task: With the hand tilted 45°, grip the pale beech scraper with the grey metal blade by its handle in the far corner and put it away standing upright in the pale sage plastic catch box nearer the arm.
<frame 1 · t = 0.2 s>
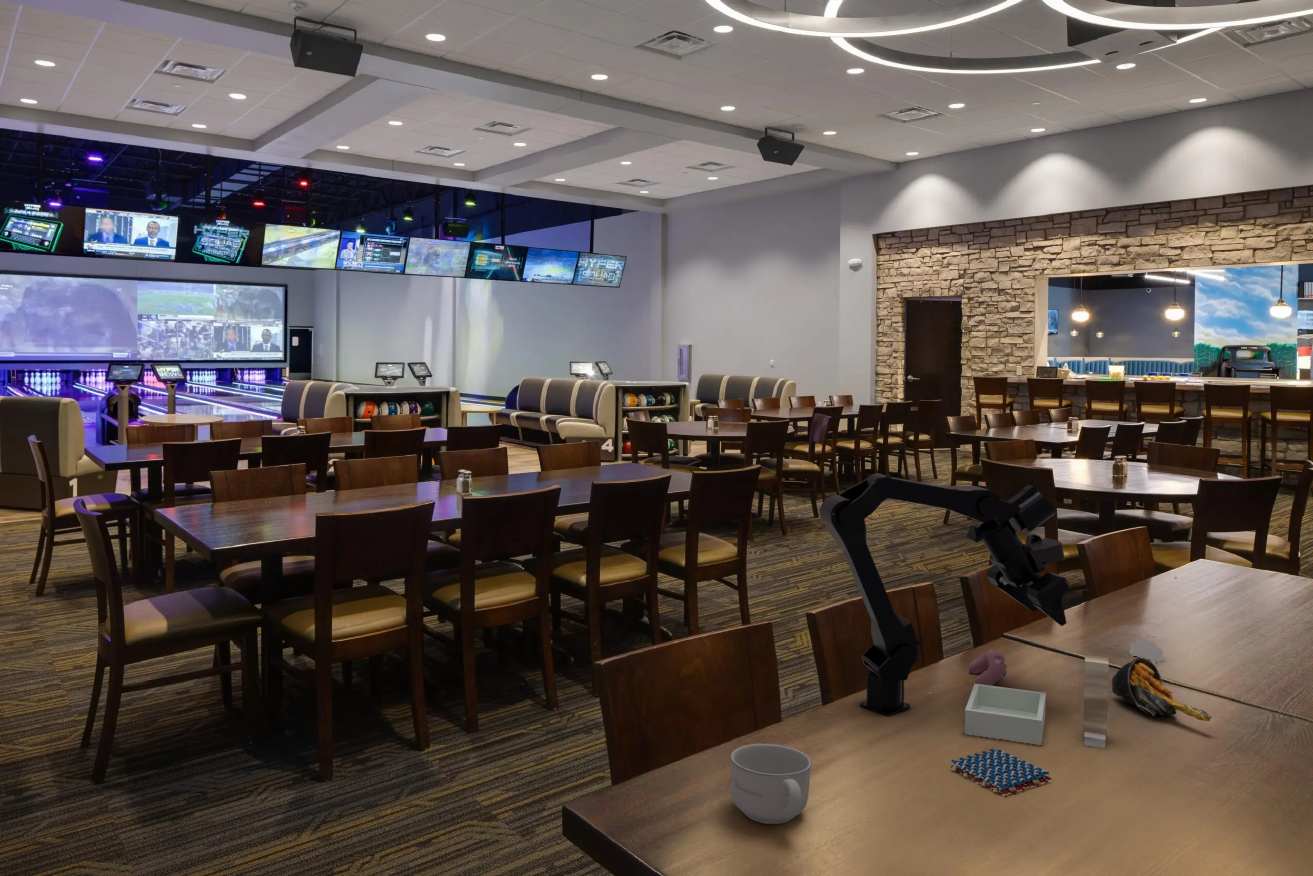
hand: (1049, 617, 165), 15 cm above the table, tool tilted 35°, fingers open, 9 cm apart
car cutout: (1125, 658, 190), on the table
video game controller: (987, 682, 175), on the table
woven mat: (1000, 780, 134), on the table
fried shrimp in bowl: (1157, 716, 157), on the table
teacup: (773, 820, 122), on the table
catch box: (1006, 725, 153), on the table
scraper: (1094, 738, 147), on the table
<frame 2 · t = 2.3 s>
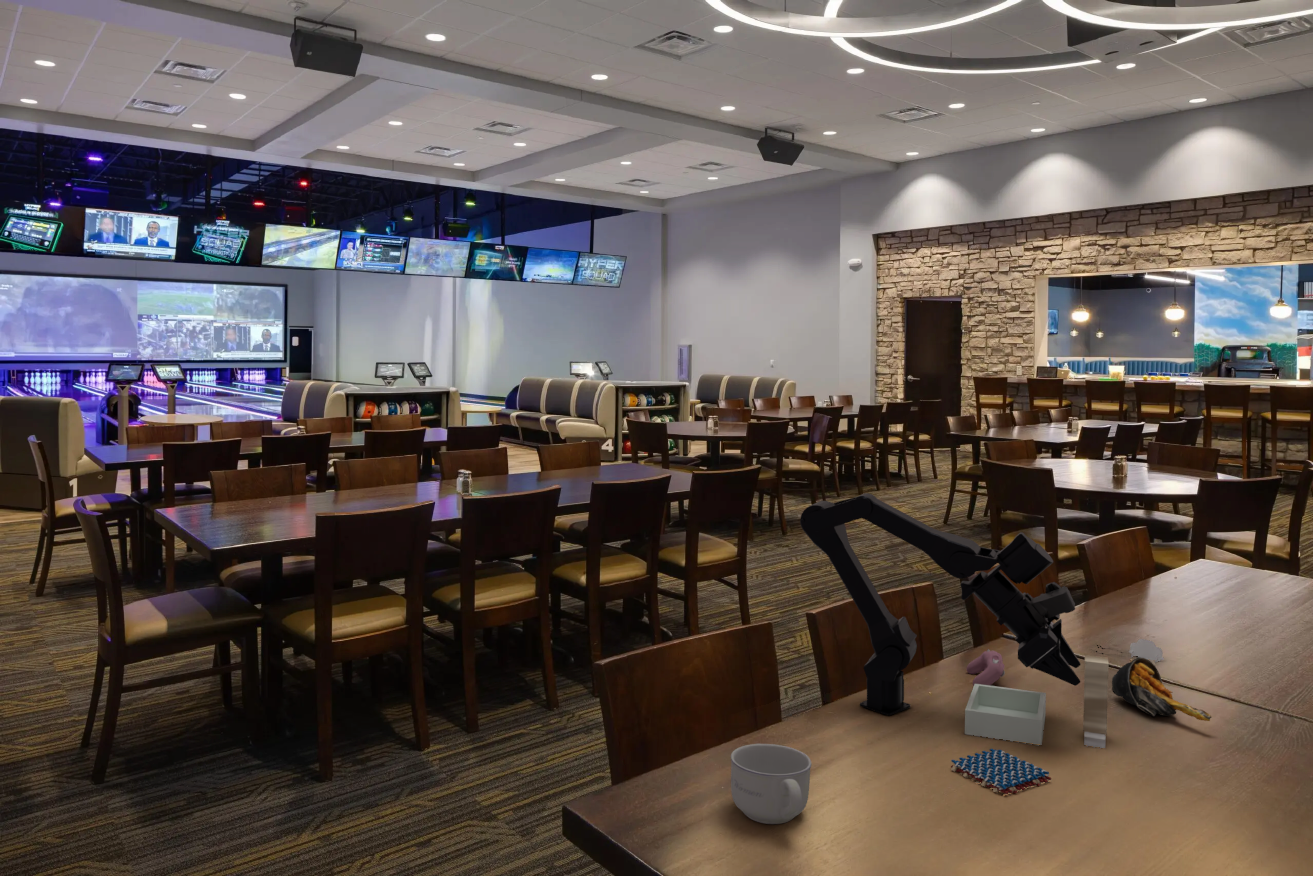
hand: (1078, 674, 148), 10 cm above the table, tool tilted 45°, fingers open, 9 cm apart
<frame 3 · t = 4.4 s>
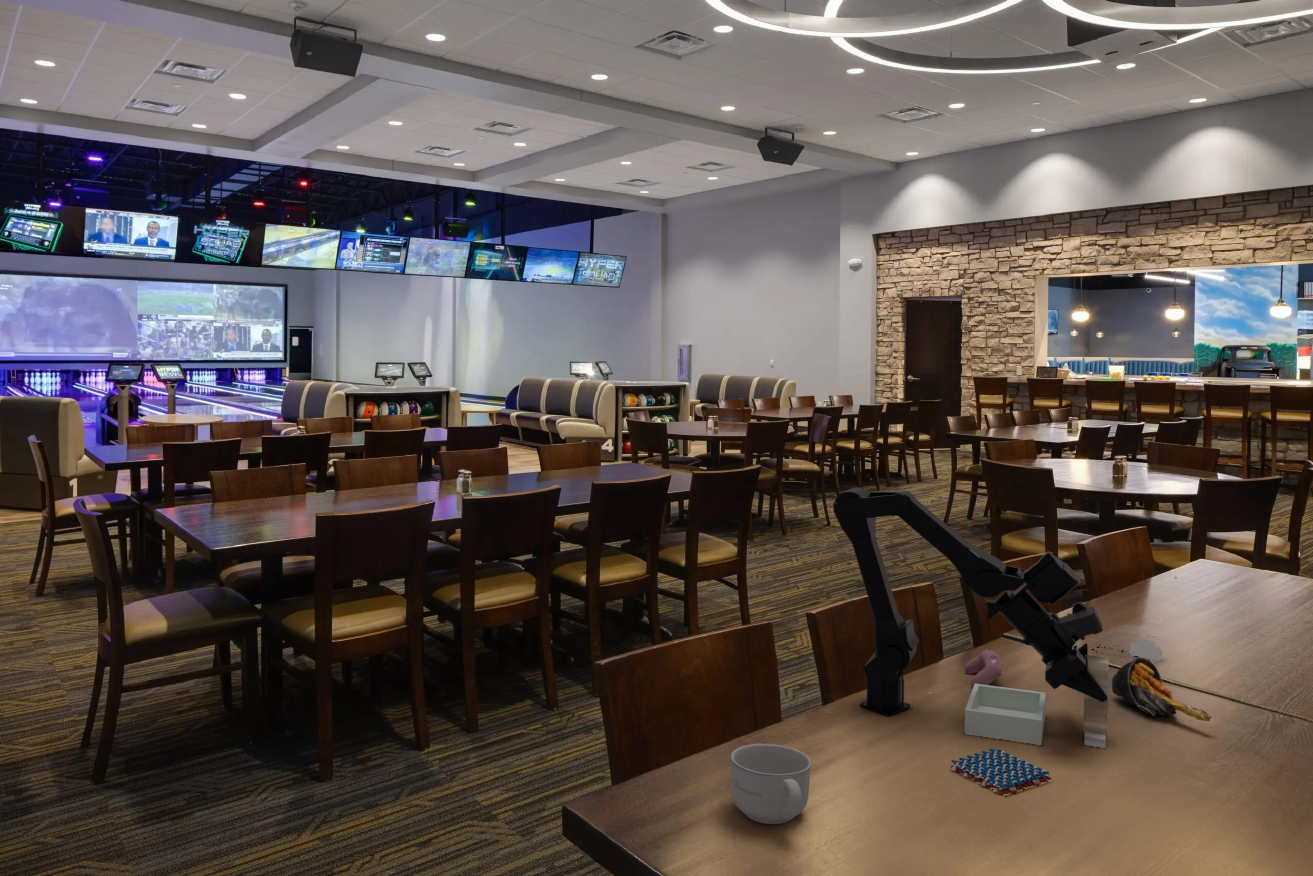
hand: (1105, 696, 146), 7 cm above the table, tool tilted 45°, fingers closed on scraper, 3 cm apart
scraper: (1094, 738, 147), on the table, touching gripper
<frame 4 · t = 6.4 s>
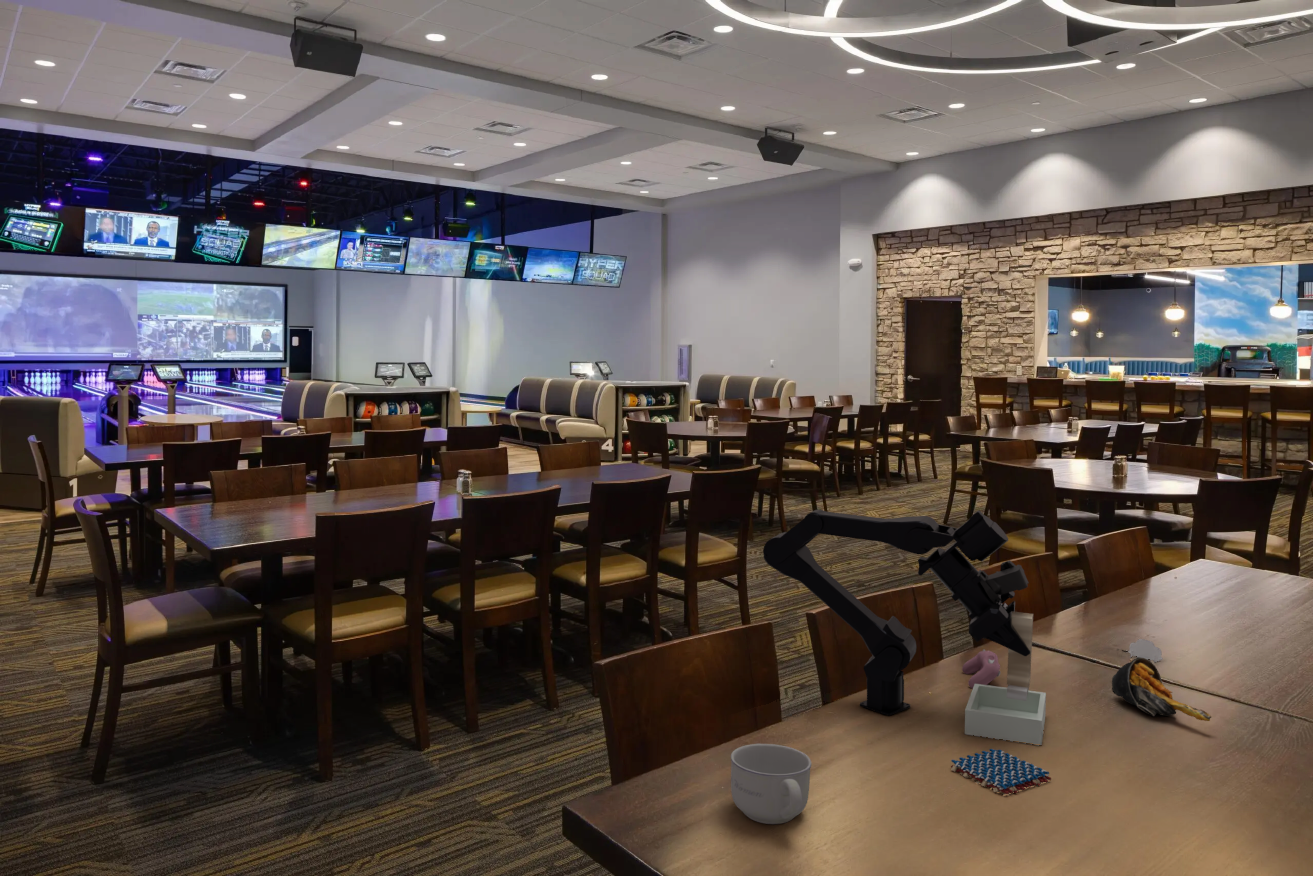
hand: (1028, 651, 151), 13 cm above the table, tool tilted 45°, fingers closed on scraper, 3 cm apart
scraper: (1018, 691, 152), point 6 cm above the table, touching gripper
when the fingers open (9 cm above the table, at t = 8.3 s): scraper drops 1 cm, resting on catch box.
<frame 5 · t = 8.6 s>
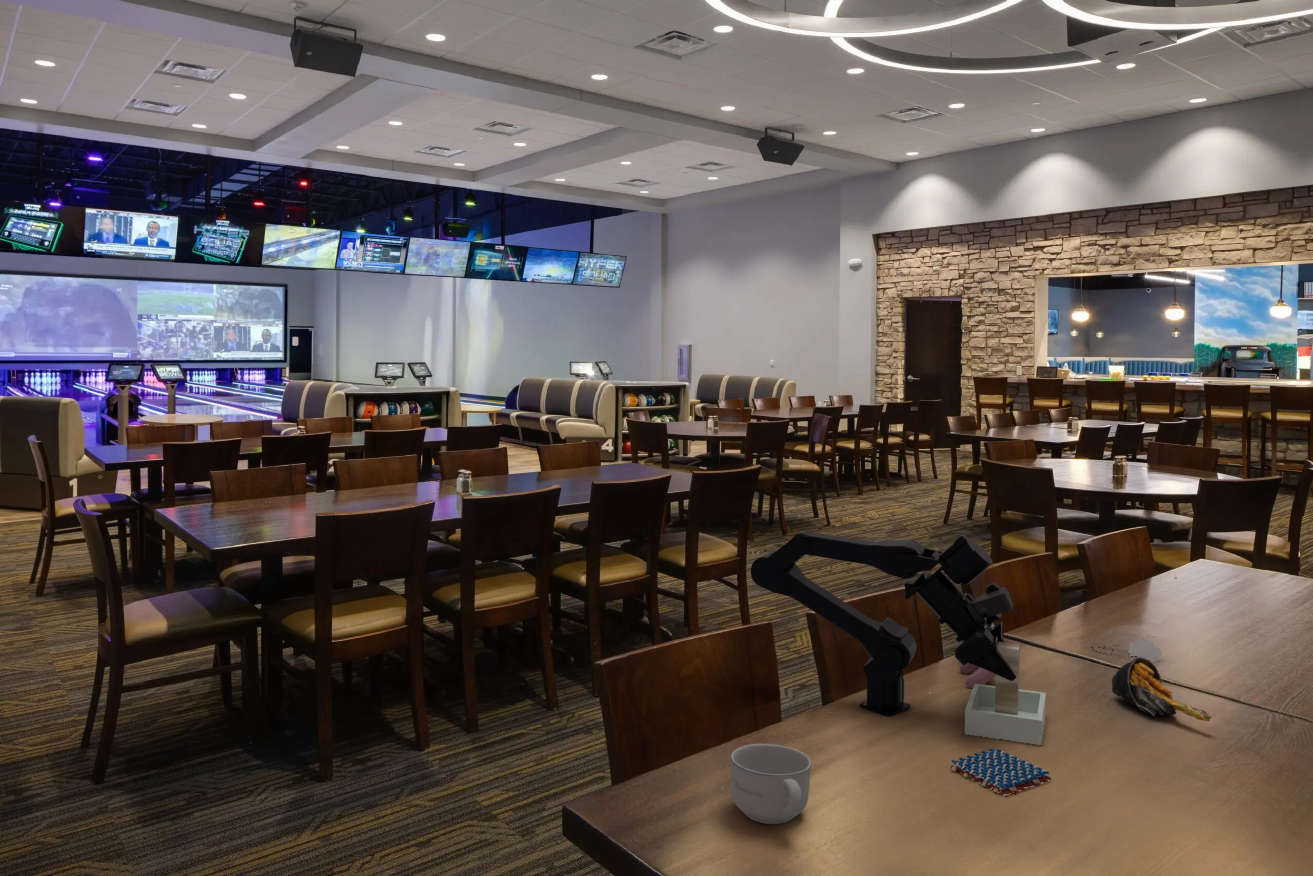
hand: (1015, 673, 152), 9 cm above the table, tool tilted 45°, fingers open, 6 cm apart
scraper: (1006, 721, 153), point 1 cm above the table, touching catch box
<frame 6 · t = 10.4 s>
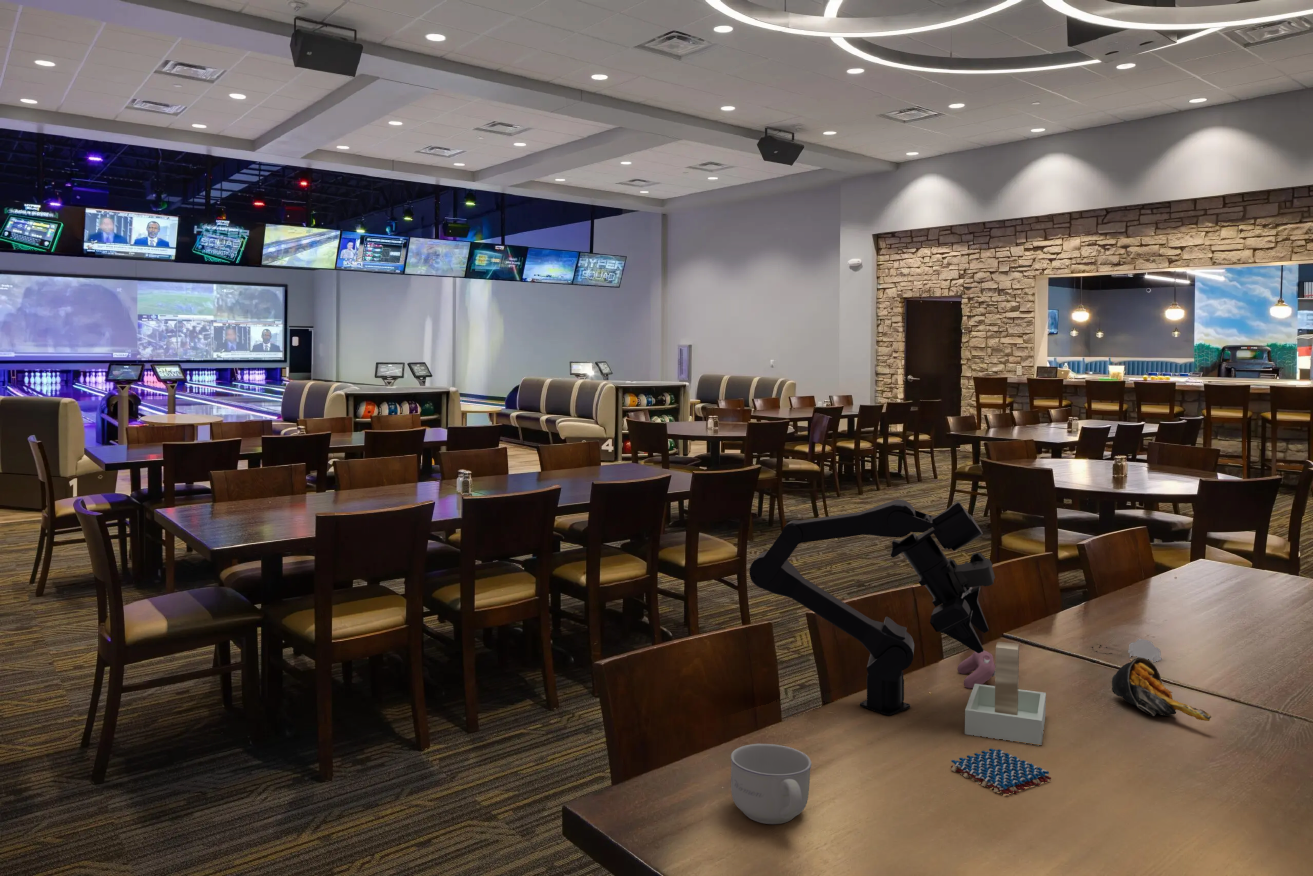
hand: (984, 641, 156), 13 cm above the table, tool tilted 35°, fingers open, 9 cm apart
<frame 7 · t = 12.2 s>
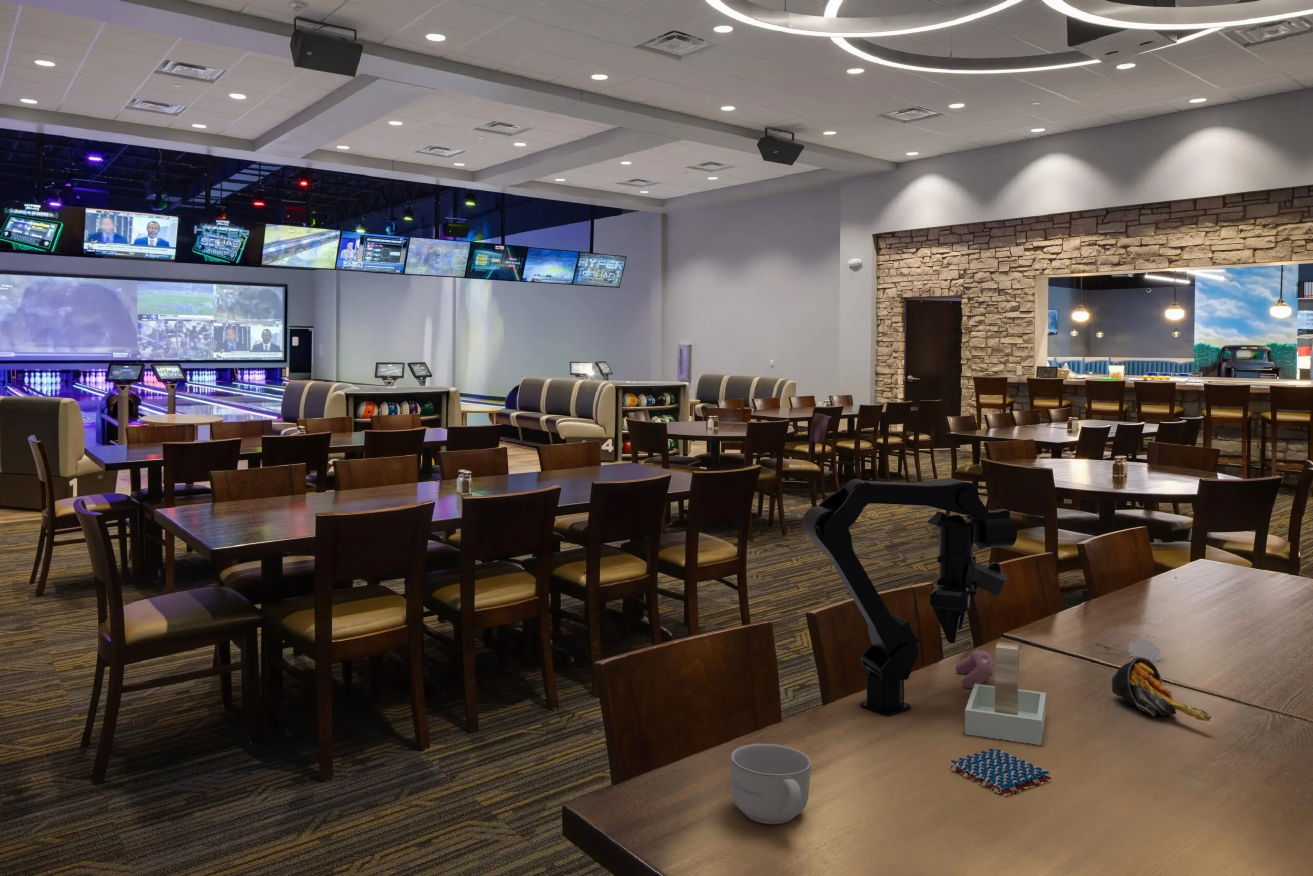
hand: (955, 635, 164), 12 cm above the table, tool pointing down, fingers open, 9 cm apart
at the end: scraper inside the target area on the catch box (0.0 cm from its centre), point 0.6 cm above the catch box's base; scraper tilted 0°; the gripper is holding nothing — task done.
